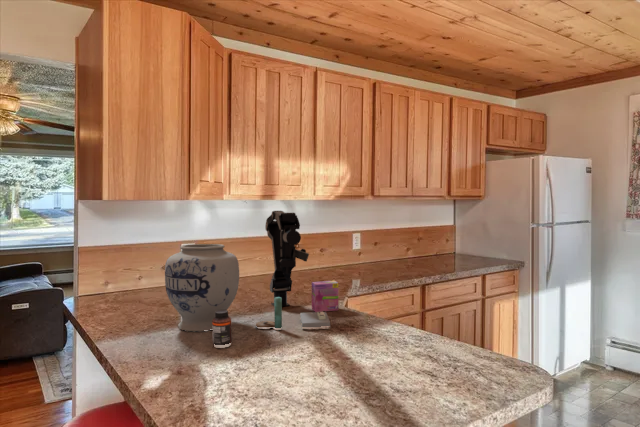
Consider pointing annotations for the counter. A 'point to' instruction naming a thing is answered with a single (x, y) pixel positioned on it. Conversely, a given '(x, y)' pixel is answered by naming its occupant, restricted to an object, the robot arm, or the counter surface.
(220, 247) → the apothecary jar
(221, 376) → the counter surface
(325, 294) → the box
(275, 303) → the crank handle
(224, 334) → the supplement bottle
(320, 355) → the counter surface
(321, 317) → the stand
